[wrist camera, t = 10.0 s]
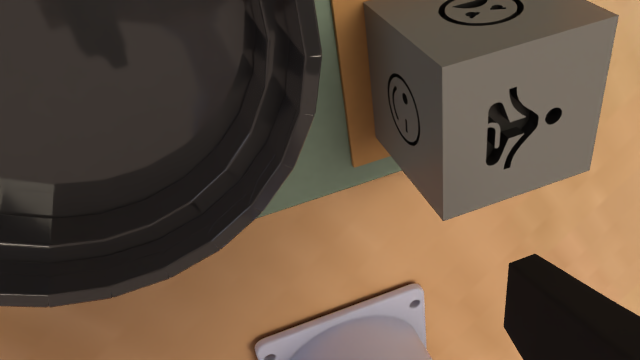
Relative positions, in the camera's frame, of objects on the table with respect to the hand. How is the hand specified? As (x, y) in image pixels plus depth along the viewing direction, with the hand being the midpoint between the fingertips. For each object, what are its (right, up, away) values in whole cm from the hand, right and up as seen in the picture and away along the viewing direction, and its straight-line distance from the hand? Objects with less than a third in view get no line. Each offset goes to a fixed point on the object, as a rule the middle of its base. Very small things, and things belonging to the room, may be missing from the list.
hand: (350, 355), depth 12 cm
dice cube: (+3, +8, +8) cm, 12 cm away
